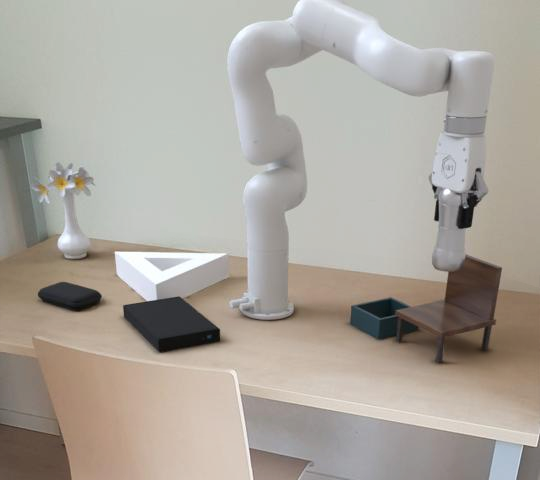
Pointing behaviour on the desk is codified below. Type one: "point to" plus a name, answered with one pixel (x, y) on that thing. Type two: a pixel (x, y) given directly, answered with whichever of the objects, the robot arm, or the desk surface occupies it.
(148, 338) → the external hard drive
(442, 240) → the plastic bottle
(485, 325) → the chair
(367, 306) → the rectangular frame
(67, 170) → the flower vase
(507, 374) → the desk surface
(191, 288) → the triangle block
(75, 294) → the carrying case
